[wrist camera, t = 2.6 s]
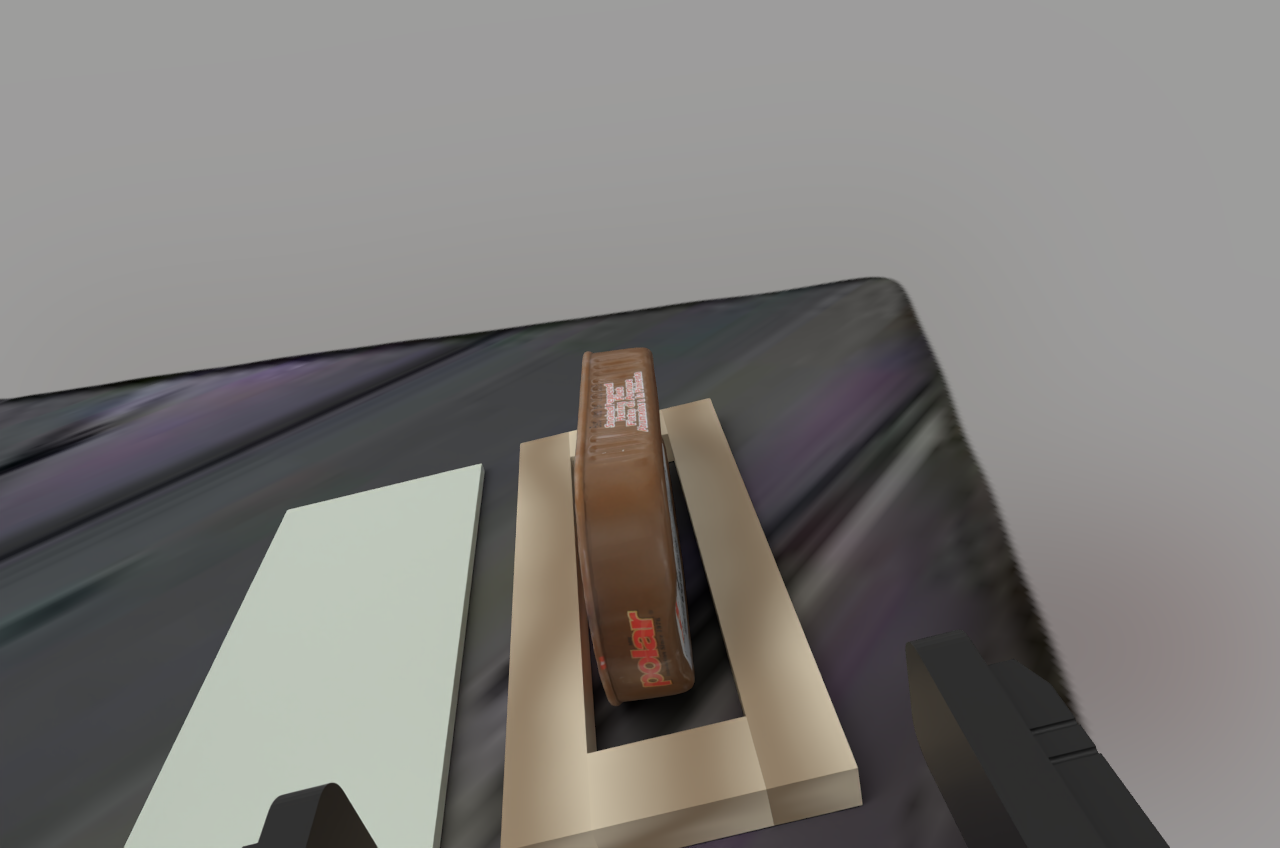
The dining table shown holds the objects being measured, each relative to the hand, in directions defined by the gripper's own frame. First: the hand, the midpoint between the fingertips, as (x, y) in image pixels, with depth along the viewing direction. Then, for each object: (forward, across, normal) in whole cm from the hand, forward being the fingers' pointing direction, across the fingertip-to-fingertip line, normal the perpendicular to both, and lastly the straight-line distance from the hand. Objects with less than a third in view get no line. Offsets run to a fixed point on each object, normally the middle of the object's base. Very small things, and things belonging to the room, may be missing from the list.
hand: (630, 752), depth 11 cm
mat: (+17, +12, +10) cm, 24 cm away
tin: (+16, 0, +11) cm, 20 cm away
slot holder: (+17, 0, +11) cm, 20 cm away
